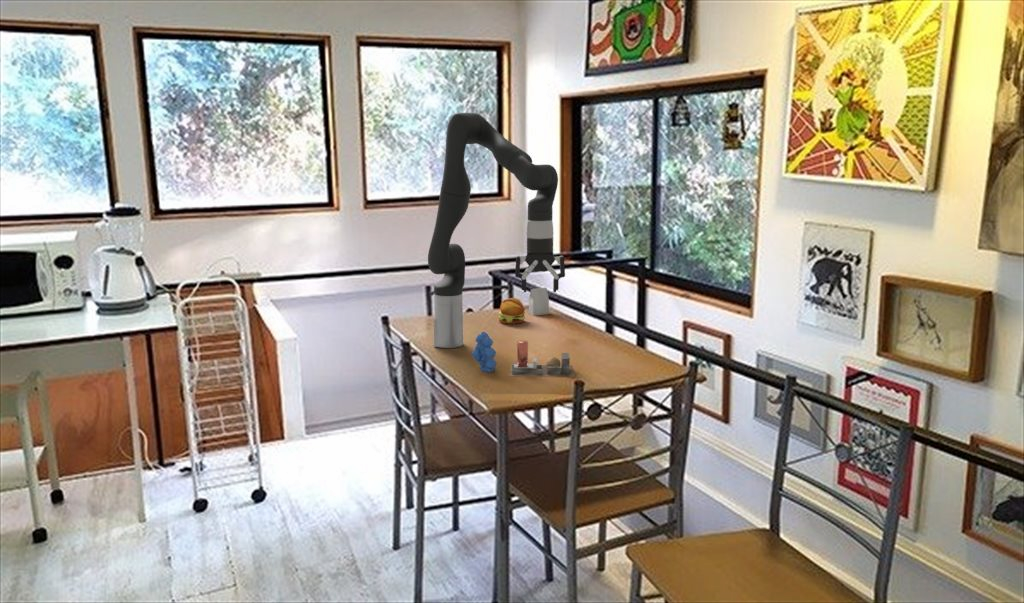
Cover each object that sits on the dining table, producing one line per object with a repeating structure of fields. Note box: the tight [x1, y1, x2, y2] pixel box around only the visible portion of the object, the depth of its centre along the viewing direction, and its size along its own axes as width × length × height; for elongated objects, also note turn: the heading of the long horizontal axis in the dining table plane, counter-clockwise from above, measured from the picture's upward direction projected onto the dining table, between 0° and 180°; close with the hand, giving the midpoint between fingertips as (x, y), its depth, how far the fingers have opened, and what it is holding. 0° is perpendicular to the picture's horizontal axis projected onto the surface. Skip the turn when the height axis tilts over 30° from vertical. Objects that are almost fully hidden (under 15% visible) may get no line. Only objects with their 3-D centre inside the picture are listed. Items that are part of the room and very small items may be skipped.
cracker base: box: [509, 352, 575, 378], centre depth 217 cm, size 18×11×6 cm, turn 89°
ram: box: [513, 340, 538, 370], centre depth 216 cm, size 6×4×8 cm, turn 89°
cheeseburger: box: [498, 297, 526, 325], centre depth 281 cm, size 10×11×10 cm
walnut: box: [545, 356, 561, 366], centre depth 216 cm, size 4×4×4 cm
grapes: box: [471, 331, 497, 373], centre depth 218 cm, size 12×7×12 cm, turn 24°
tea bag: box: [528, 287, 550, 317], centre depth 294 cm, size 4×7×10 cm, turn 116°
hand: (540, 291), depth 219 cm, fingers open, 8 cm apart
